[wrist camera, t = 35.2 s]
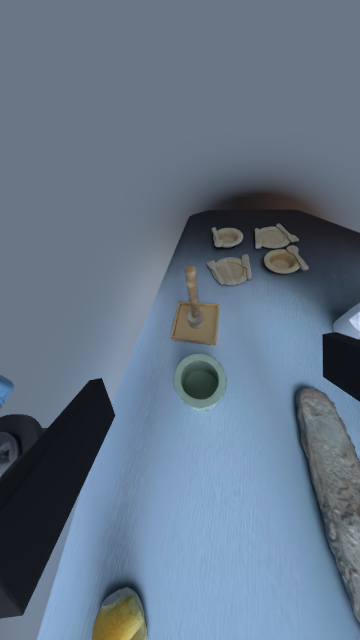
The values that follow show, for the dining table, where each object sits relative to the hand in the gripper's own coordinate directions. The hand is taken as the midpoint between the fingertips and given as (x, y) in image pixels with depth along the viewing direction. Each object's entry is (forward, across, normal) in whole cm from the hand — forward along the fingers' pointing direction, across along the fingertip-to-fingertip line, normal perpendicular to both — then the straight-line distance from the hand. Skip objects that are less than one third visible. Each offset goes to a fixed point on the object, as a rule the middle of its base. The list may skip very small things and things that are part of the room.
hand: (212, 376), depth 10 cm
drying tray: (+43, +2, -9) cm, 43 cm away
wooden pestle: (+42, +2, -8) cm, 43 cm away
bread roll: (+6, -21, -46) cm, 51 cm away
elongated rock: (+14, +20, -38) cm, 45 cm away
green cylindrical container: (+29, -1, -22) cm, 37 cm away
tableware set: (+60, +28, +8) cm, 67 cm away
